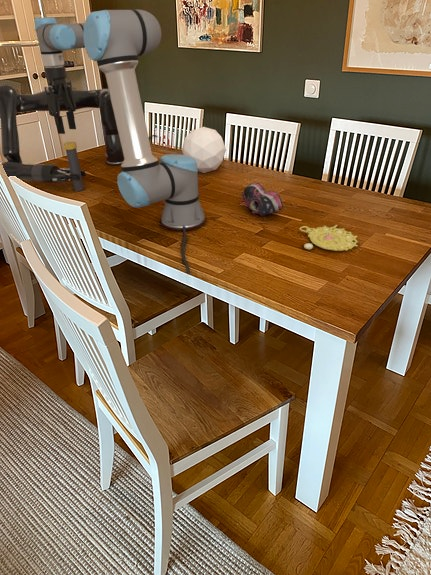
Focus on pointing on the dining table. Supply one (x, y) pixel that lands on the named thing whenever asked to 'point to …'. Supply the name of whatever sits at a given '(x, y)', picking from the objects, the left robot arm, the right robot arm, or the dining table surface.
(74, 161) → the dark grey cylinder
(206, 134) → the sphere
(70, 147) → the lid
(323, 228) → the decorative object
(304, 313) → the dining table surface
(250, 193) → the athletic shoe
